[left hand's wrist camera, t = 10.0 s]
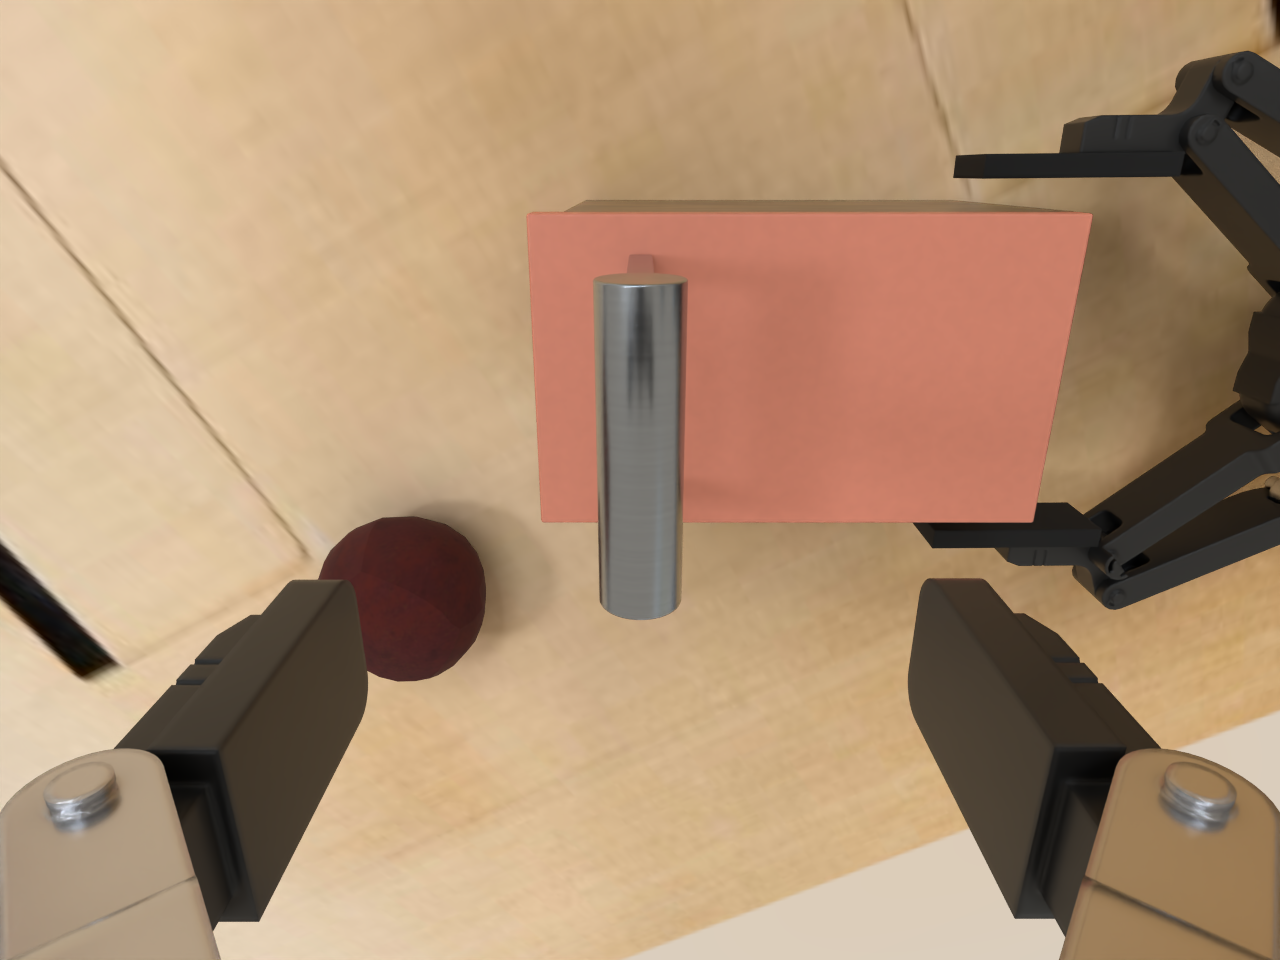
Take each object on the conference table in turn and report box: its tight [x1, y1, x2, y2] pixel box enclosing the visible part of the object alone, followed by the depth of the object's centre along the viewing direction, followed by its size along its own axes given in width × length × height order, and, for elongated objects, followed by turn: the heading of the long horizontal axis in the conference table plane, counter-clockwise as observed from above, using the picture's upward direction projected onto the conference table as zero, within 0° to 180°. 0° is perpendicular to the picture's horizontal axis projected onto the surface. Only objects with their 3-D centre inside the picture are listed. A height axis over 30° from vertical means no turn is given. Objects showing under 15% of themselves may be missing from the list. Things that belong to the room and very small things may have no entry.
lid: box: [527, 212, 1093, 620], centre depth 22 cm, size 17×10×9 cm, turn 90°
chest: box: [564, 200, 1072, 212], centre depth 31 cm, size 16×10×10 cm, turn 90°
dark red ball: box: [318, 517, 486, 681], centre depth 37 cm, size 7×8×7 cm
